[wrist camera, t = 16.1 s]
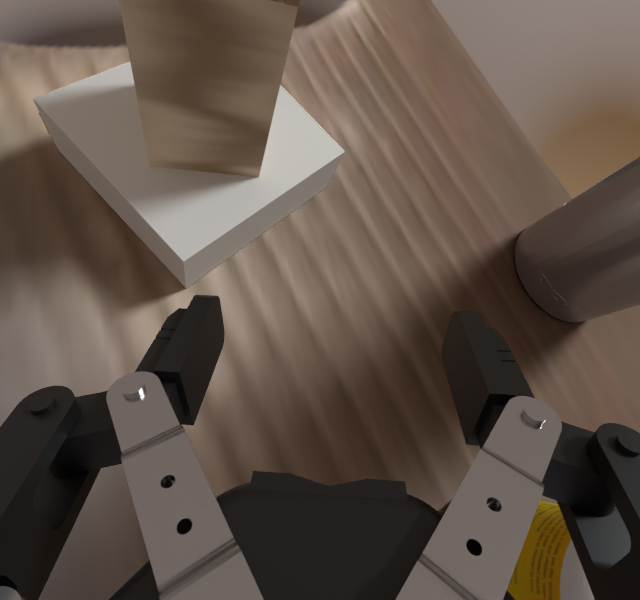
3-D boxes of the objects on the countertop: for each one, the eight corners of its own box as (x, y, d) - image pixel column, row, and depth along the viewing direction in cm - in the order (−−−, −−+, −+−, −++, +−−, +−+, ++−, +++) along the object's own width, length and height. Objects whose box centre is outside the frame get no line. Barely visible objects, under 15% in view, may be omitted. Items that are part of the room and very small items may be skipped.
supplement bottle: (413, 562, 22) (650, 702, 10) (465, 465, 25) (697, 491, 13) (499, 643, 22) (833, 872, 10) (541, 536, 25) (840, 623, 13)
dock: (218, 74, 30) (221, 23, 26) (326, 187, 29) (345, 151, 25) (55, 147, 24) (30, 95, 20) (185, 288, 23) (183, 261, 20)
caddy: (254, 98, 25) (295, -148, 14) (258, 177, 23) (308, -40, 12) (153, 81, 23) (116, -213, 12) (149, 166, 21) (100, -98, 11)
